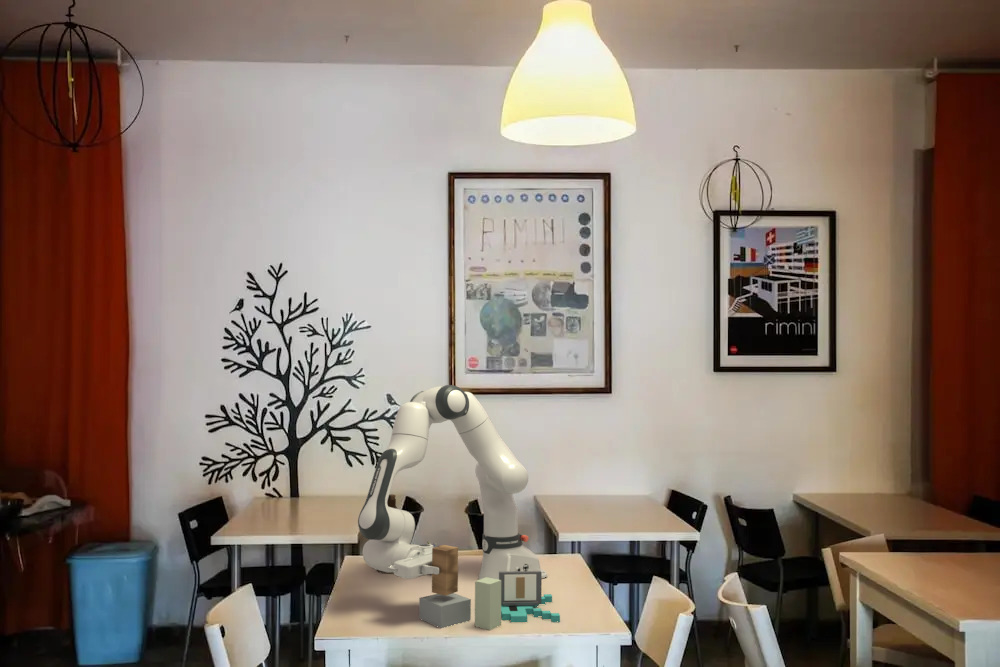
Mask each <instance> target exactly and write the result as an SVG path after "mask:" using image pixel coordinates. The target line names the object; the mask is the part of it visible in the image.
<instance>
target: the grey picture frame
mask: <svg viewBox="0 0 1000 667" xmlns="http://www.w3.org/2000/svg"><path fill="white" fill-rule="evenodd" d="M542 579H543V578H542V572H541V571H504V572H499V580H501V605H503V606H522V605H538V604H541V597H542V586H543V585H542V581H543V580H542Z"/></svg>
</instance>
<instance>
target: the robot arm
mask: <svg viewBox="0 0 1000 667" xmlns="http://www.w3.org/2000/svg"><path fill="white" fill-rule="evenodd" d="M446 421H450V422H452V424H453V425H454V428H455V430H456V431H457V433H458V436H459V437H460V439H461V440H462V442H463V444H464V445H465V448H466V450H467V451H468V453H469V454H470V455H471V456H472V457H473V458H474V460H475V461H476V462H477V463H476V465H475V477H476V478H477V479H476V480H477V481H478V485H479V489H480V495H481V500H482V501H481V502H482V507H483V533H482V544H481V545H482V558H481V559H482V561H481V566H480V570H479V575H478V580H480V579H483V578H485V577H488V578H493V579H498V580H499V572H504V571H541V572H542V579H546V578H548V573H547V571H545V570H544V569H542V568H541V564H540V559H539V557H538V556H537V554H536V553H534V552H533V551H532V550H530V549H529V548H528V547H526V546H525V545H523V542H524V543H528V541H529V539H530V537H529V536H528V535H526V534H520V533H519V511H518V507H517V505H516V503H515V500H514V494H518V493H521V492H522V491H523V490H524V489H525V488H526V487H527V486H528V484H529V473H528V470H527V469H526V467H525V466H524V465H523V464H522V463H521V462H520V461H519V460H518V459H517V457H516V455H515V454H514V453H513V451H512V450H511V449H510V448H509V446H508V445H507V444H506V443H505V441H504V440H503V439H502V437H501V436H500V434H499V432H498V431H497V429H496V426H495V425H494V424H493V422H492V421H491V419H490V416H489V415H488V413H487V411H486V409H485V408H484V406H483V405H482V404H481V403H480V402H479V399H477V397H476V396H475V395H474V394H473V393H472V392H470V391H464V390H463V389H462V388H461V387H458V386H457V385H453V384H446V385H441V386H433V387H431V388H427V389H426V390H422V391H419V392H418V393H416V394H415V395H413V396H412V397H411V398H410V400H409V401H408V402H404V403H403V404H402V405H400V406H399V408H398V410H397V413H396V416H395V420H394V422H393V427H392V430H391V437H390V441H389V443H388V446H387V448H386V449H385V450H384V451H383V452H382V453H381V455H380V457H379V459H378V461H377V463H376V467H375V469H374V473H373V476H372V480H371V482H370V483H371V484H370V486H369V490H368V493H367V496H366V500H365V502H364V504H363V506H362V508H361V511H360V512H359V514H358V518H357V526H358V530H359V532H360V534H361V536H362V537H364V538H365V539H367V541H366V542H365V543H364V544H363V547H362V558H363V560H364V562H365V564H366V565H367V566H369V567H370V568H372V569H375V570H376V569H377V570H380V571H383V572H393V573H392V574H394V576H396V577H399V578H401V579H406V580H413V579H415V578H419V577H422V576H425V575H432V574H440V573H441V567H438V566H435V567H434V566H432V548H434V547H433V545H430V544H431V543H430V544H428V543H426V544H415V543H414V544H413V543H412V540H413V537H414V534H415V531H416V521H415V517H414V516H413V514H412V513H410V511H407V510H403V509H400V508H398V507H397V508H398V509H397V508H396V509H395V508H391V507H388V505H387V500H388V497H389V494H390V493H391V490H392V486H393V482H394V480H395V477H396V476H397V474H399V472H400V471H403V470H406V469H412V468H414V467H416V466H418V465H419V464H420V463H421V462H423V460H424V458H425V455H426V453H427V448H428V441H429V433H430V429H431V428H430V427H431V426H432V424H441V423H444V422H446ZM545 577H546V578H545Z"/></svg>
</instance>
